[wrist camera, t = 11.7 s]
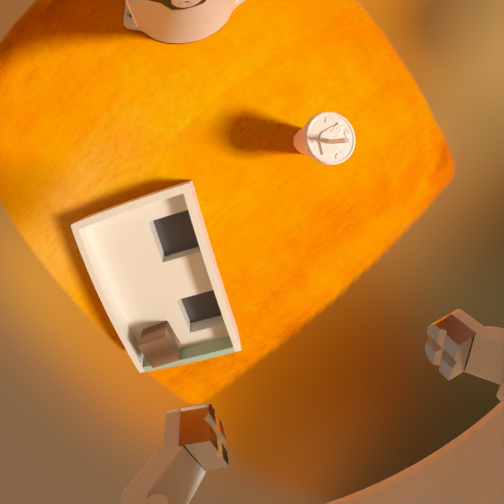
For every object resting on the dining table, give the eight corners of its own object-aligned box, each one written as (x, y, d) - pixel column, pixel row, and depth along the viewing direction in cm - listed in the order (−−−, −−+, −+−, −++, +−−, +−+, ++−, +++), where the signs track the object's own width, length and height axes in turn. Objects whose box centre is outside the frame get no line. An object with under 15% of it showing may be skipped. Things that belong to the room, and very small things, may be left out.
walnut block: (142, 329, 41) (137, 346, 37) (167, 320, 41) (164, 337, 37) (156, 350, 43) (152, 368, 39) (180, 342, 43) (178, 360, 39)
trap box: (87, 215, 38) (70, 224, 32) (192, 179, 39) (189, 183, 33) (145, 350, 46) (139, 372, 40) (237, 328, 47) (241, 350, 41)
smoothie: (275, 148, 39) (308, 143, 26) (297, 112, 38) (338, 93, 24) (312, 171, 41) (358, 178, 27) (332, 136, 39) (384, 130, 26)
